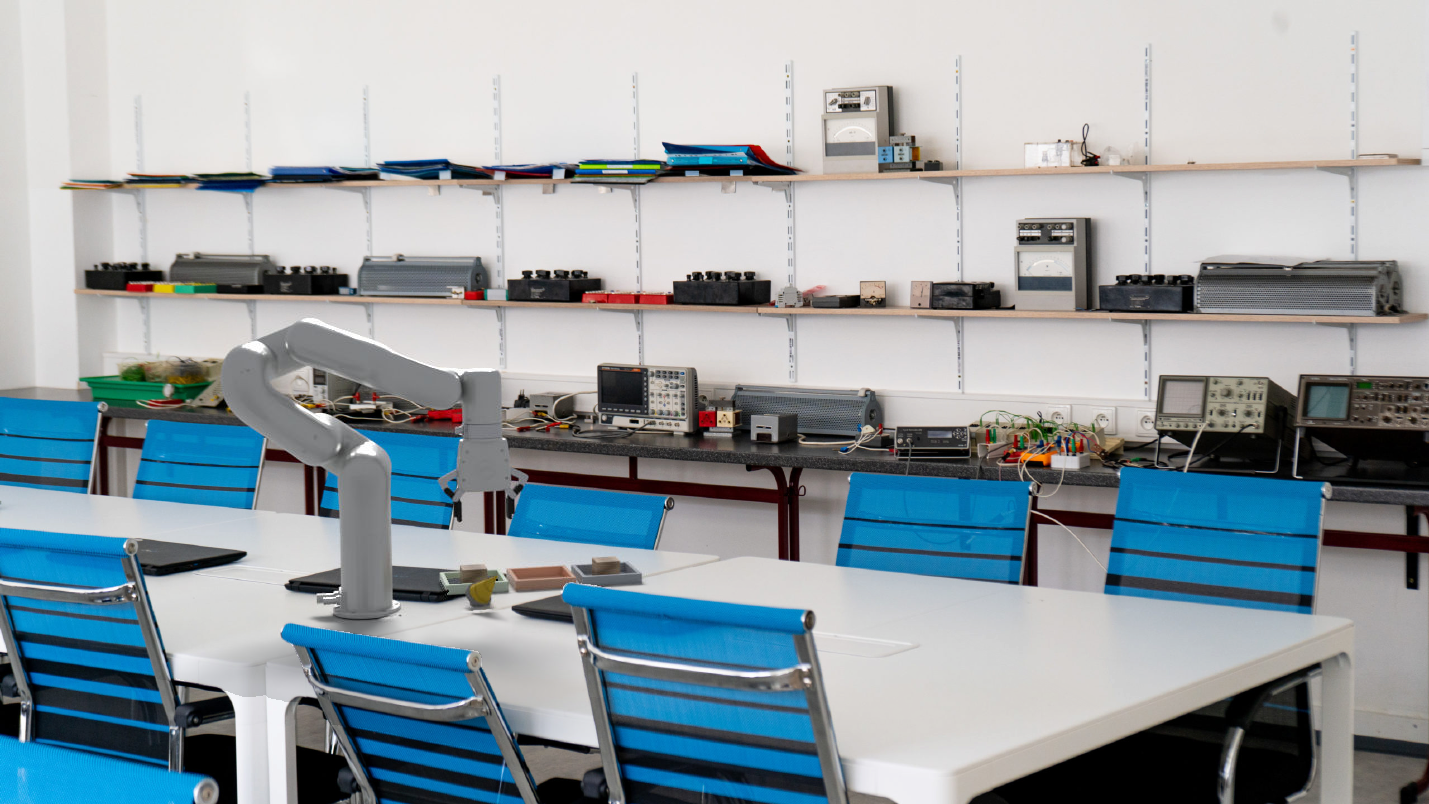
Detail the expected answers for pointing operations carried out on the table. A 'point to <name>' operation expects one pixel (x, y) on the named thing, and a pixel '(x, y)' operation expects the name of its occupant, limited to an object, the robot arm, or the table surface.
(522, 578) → the terracotta dish
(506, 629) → the table surface
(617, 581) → the grey tray
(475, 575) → the walnut block
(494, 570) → the sage tray
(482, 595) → the mustard yellow cone
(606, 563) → the walnut block
